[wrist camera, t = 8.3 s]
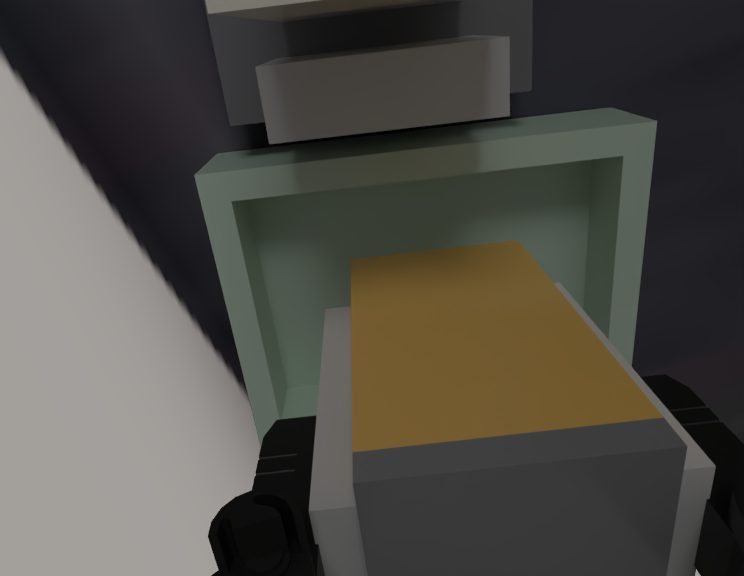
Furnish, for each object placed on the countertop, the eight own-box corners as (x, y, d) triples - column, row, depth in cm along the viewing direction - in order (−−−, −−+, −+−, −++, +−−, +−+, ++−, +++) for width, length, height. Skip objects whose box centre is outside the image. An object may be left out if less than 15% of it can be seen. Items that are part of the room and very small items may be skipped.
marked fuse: (350, 259, 15) (352, 483, 7) (517, 240, 15) (687, 445, 7) (369, 397, 16) (385, 686, 9) (517, 380, 16) (653, 657, 9)
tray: (217, 153, 17) (194, 174, 14) (611, 107, 17) (657, 121, 14) (271, 395, 21) (260, 446, 18) (593, 359, 21) (627, 405, 18)
